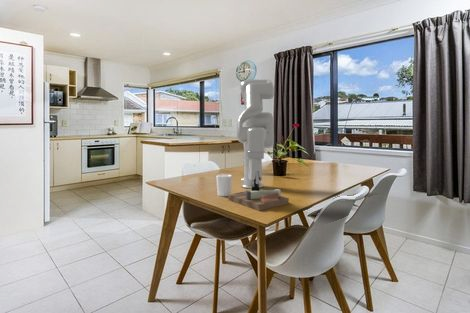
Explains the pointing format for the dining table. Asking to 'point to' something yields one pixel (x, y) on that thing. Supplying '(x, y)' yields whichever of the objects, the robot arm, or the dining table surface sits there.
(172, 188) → the dining table surface
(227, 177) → the white cup
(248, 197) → the stool leg
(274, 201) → the stool seat
